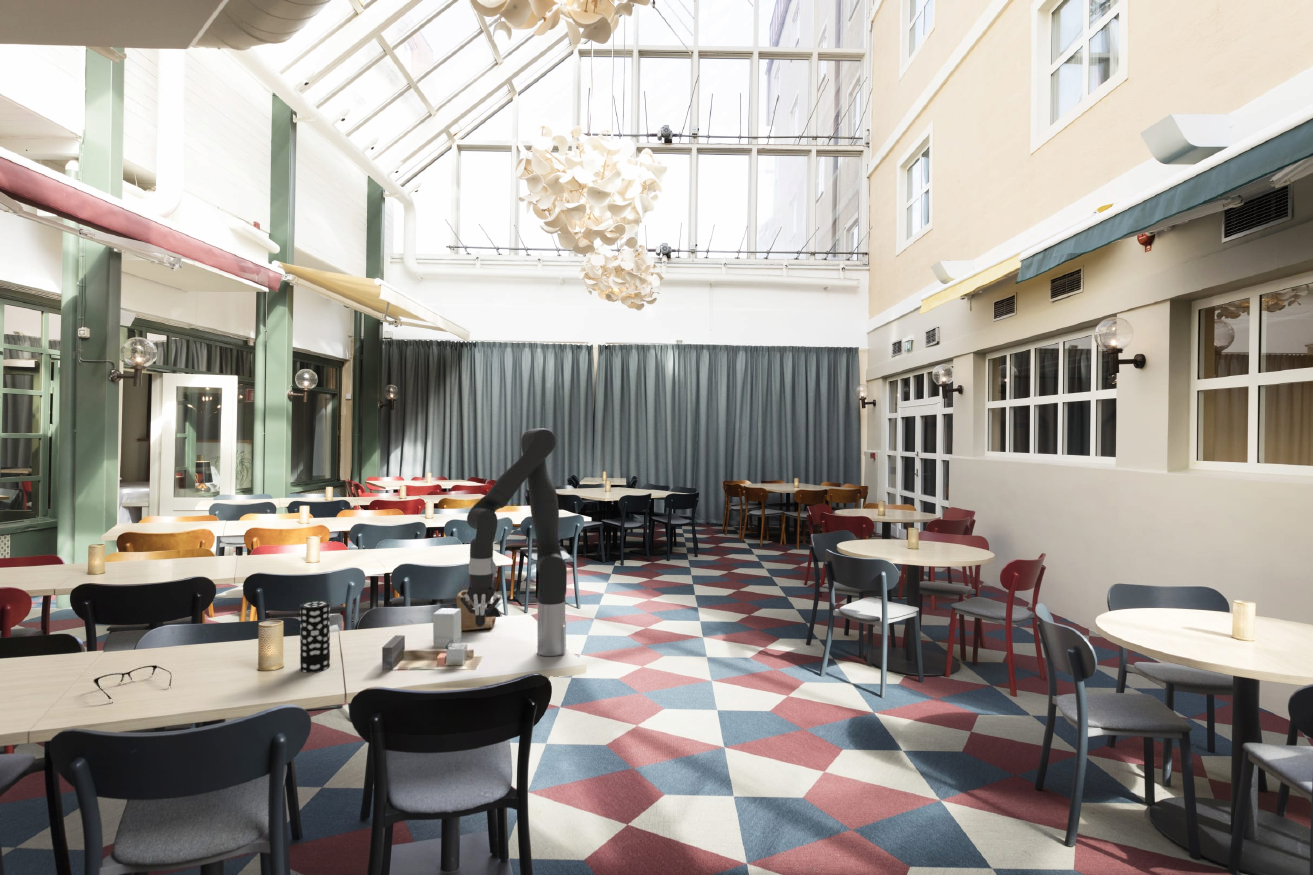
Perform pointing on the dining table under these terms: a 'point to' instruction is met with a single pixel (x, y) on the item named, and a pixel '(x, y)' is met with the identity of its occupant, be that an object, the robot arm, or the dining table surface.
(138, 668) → the eyeglasses
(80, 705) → the dining table surface
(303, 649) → the white-spotted black cylinder
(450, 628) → the supplement box
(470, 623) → the tan piece
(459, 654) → the carriage
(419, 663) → the beige long open tray
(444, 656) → the pink eraser
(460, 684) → the dining table surface
